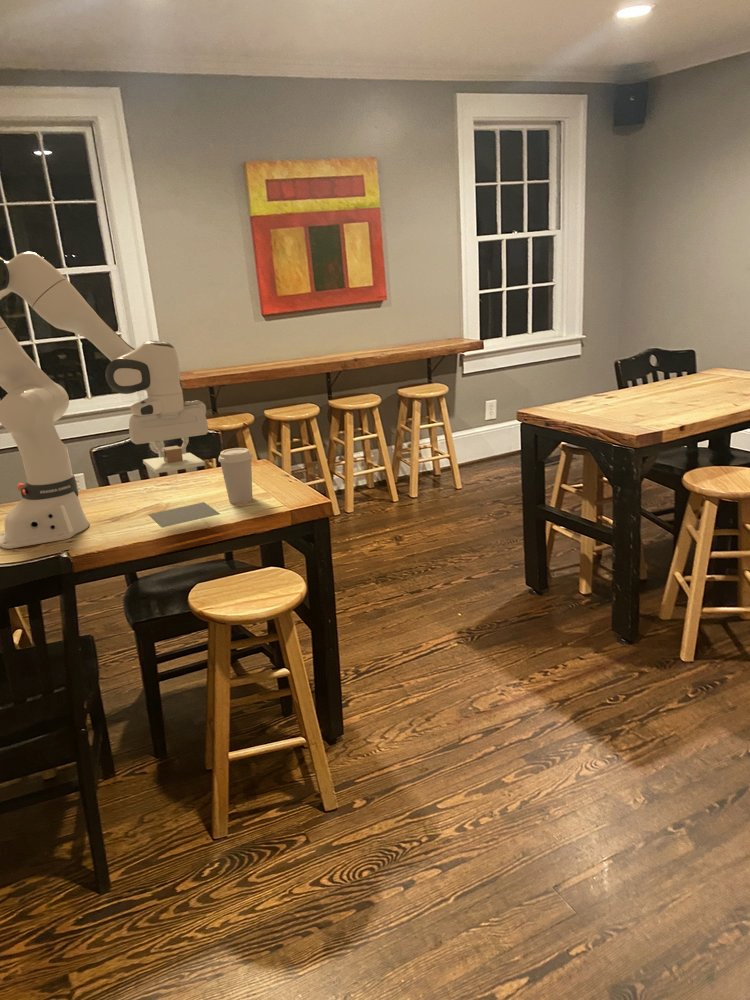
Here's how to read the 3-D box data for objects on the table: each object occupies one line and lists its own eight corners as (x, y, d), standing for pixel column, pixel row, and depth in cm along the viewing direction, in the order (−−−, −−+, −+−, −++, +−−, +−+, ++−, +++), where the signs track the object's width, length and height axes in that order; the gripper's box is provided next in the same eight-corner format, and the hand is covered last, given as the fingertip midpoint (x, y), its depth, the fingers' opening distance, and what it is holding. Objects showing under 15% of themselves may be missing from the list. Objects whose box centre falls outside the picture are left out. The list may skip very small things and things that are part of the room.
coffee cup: (218, 507, 204) (211, 455, 200) (232, 496, 213) (226, 447, 208) (250, 507, 202) (243, 455, 197) (263, 497, 210) (257, 446, 206)
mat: (162, 529, 189) (161, 527, 189) (148, 516, 200) (148, 514, 200) (220, 515, 196) (220, 513, 196) (204, 504, 208) (204, 502, 208)
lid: (155, 473, 185) (153, 456, 184) (143, 463, 196) (141, 447, 195) (205, 465, 192) (203, 448, 190) (190, 456, 202) (188, 440, 201)
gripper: (201, 397, 197) (206, 447, 201) (124, 407, 187) (131, 459, 191) (208, 400, 191) (214, 451, 196) (129, 410, 182) (137, 463, 186)
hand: (172, 455), depth 193 cm, fingers closed on lid, 4 cm apart
